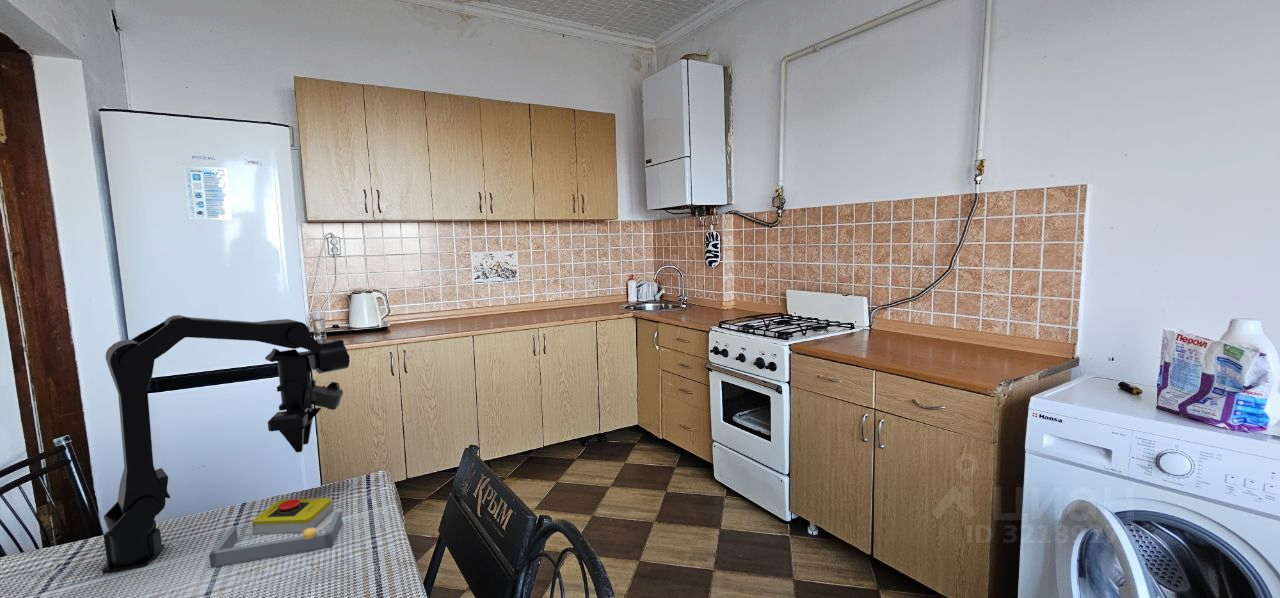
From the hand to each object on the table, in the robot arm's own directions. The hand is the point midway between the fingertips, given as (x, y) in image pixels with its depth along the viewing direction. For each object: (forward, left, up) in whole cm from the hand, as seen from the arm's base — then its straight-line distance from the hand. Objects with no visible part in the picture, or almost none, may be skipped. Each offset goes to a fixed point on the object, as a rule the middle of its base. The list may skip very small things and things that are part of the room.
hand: (302, 447), depth 119 cm
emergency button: (0, -10, -13) cm, 16 cm away
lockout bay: (0, -18, -12) cm, 21 cm away
